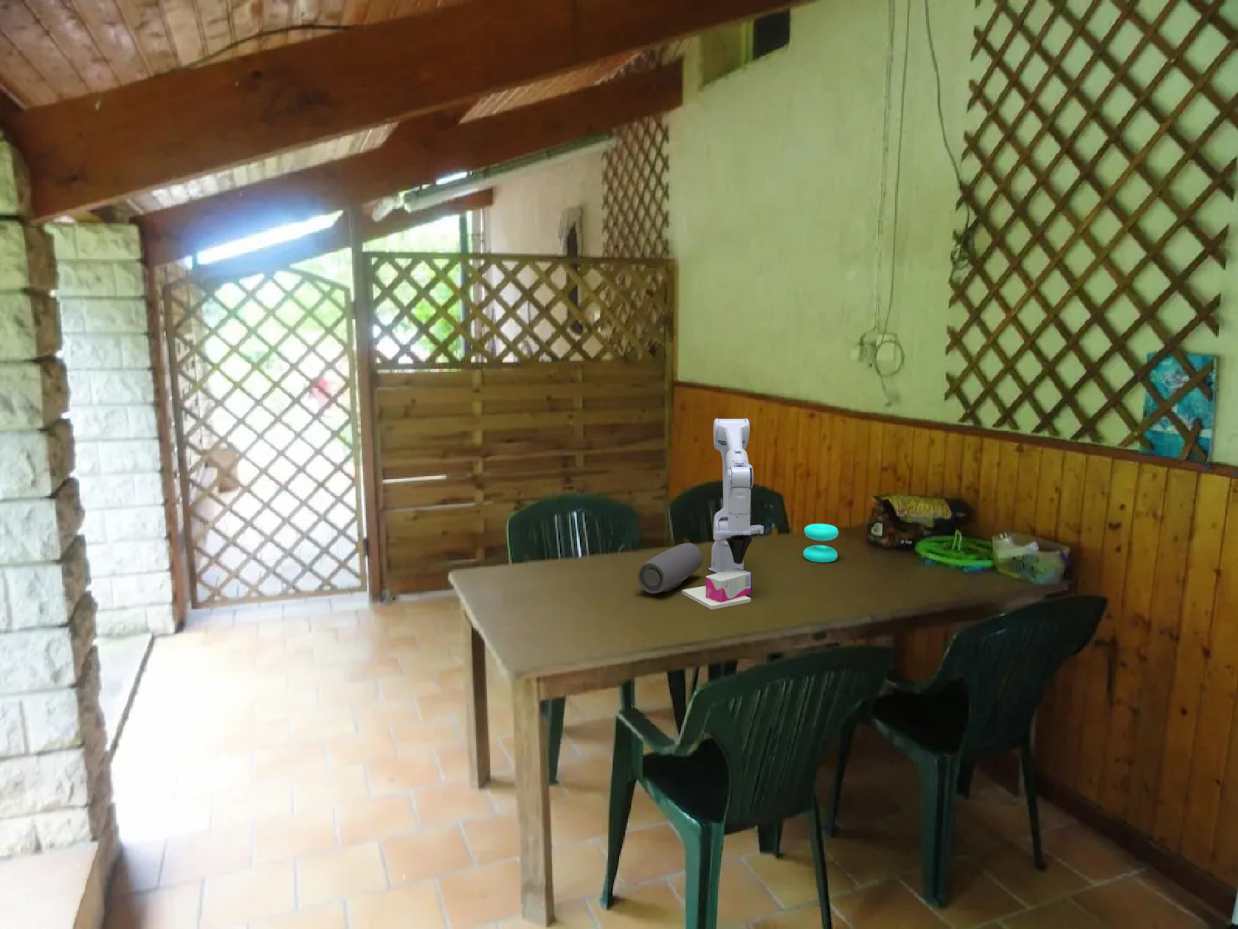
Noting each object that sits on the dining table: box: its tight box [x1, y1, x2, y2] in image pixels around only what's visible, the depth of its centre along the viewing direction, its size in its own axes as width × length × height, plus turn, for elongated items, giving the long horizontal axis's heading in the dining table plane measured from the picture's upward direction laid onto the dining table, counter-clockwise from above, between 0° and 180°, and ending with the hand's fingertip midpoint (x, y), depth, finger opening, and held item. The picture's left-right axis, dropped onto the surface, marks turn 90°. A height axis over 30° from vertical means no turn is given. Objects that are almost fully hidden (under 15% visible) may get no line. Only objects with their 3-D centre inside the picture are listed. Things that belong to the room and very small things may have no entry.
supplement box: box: [705, 568, 753, 602], centre depth 212 cm, size 6×6×12 cm
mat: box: [681, 585, 752, 610], centre depth 214 cm, size 14×12×1 cm
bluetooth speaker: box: [637, 542, 704, 594], centre depth 223 cm, size 23×9×10 cm, turn 149°
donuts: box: [803, 523, 839, 564], centre depth 248 cm, size 10×10×10 cm
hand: (738, 563), depth 215 cm, fingers closed
